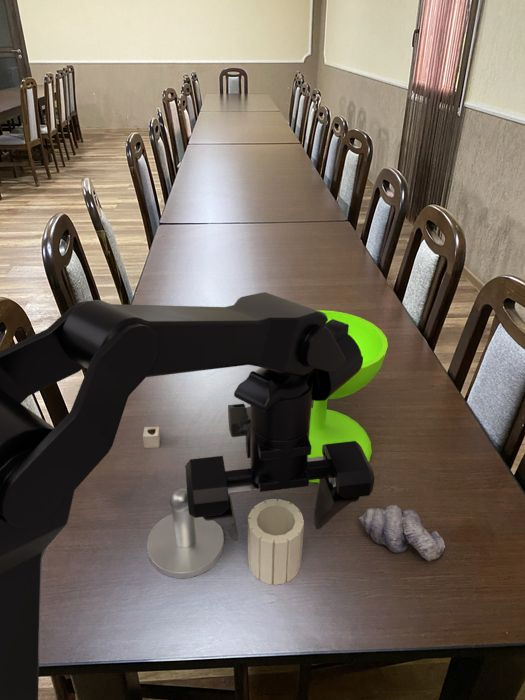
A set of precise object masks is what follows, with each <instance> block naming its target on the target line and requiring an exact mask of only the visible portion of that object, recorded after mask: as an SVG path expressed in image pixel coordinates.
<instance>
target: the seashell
mask: <svg viewBox="0 0 525 700" xmlns="http://www.w3.org/2000/svg"><path fill="white" fill-rule="evenodd" d="M359 522H360V523H361V526H362V527H363V528H364V529H365V532H366V534H368V535H370V537H371V539H372V540H373V542H375V543H376V544H377V545H384V546H386V548H387V549H388V550H389V551H390V552H392V553H394V554H399V553H403V552H405V551H407V550H408V547H409V545H411V547H413V549H415V550H416V551H417V552H418V554H420V556H421V557H422V558H423V559H424V560H426V561H427V562H432V560H436V559H438V558H440V556H441V555H442V554H444V550H445V548H446V545H445V541H444V538H443V537H442V536H441V535H439V532H438V530H434V531H432V532H431V533H430V532H429V531H428V530H427V529H426V528H425V526H424V525H423V522H422V519H421V518H420V515H419V514H418V513H417V512H416V511H415V510H413V509H405V510H402V508H400V507H399V506H398V505H397V504H390V505H387V506H385V508H379V507H376V508H374V507H373V508H372V507H371V508H367V509H366V510H365V513H363V515H361V516H360V517H359Z"/></svg>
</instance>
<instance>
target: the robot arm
mask: <svg viewBox="0 0 525 700" xmlns="http://www.w3.org/2000/svg"><path fill="white" fill-rule="evenodd" d="M317 310H318V309H314V308H311V307H309V306H305V305H302V304H299V303H297V302H295V301H291V300H288V299H287V298H283V297H280V296H278V295H274V294H271V293H268V292H267V291H266V292H258V293H254V294H253V293H252V294H249V295H244V296H240V297H239V298H237V300H236V301H235V302H234V304H232V305H228V306H203V305H202V306H199V305H157V304H151V305H150V304H121V303H120V304H118V303H109V302H106V301H105V300H101V299H93V300H85V301H84V300H83V301H79V302H76V304H74V305H73V306H71V307H69V308H68V309H67V310H66V311H65V312H64V313H62V314H61V316H59V317H58V318H57V319H56V320H55V321H53V323H51V324H50V325H49V326H48V327H47V328H46V329H44V330H42V331H39V332H37V333H36V334H33V335H31V336H29V337H26V338H24V339H23V340H20V341H18V342H17V343H14V344H12V345H10V346H8V347H5V348H4V349H1V350H0V700H39V679H40V678H39V677H40V644H41V643H40V640H41V607H42V606H41V605H42V604H41V602H42V600H41V599H42V569H43V567H42V564H43V563H42V561H43V553H44V551H45V550H46V549H47V548H48V546H50V544H51V543H52V542H53V541H55V539H56V537H57V536H58V535H59V534H60V533H61V531H63V530H64V528H66V526H67V524H68V522H69V519H70V515H71V510H72V505H73V501H74V496H75V491H76V489H78V487H79V486H80V485H81V484H82V483H83V482H84V480H85V479H87V477H88V476H89V475H90V474H91V473H92V472H93V471H94V469H95V468H96V467H97V466H98V465H99V464H100V463H101V461H103V460H104V458H105V457H106V456H107V455H108V454H109V452H110V451H111V449H112V447H113V446H114V442H115V439H116V436H117V432H118V430H119V426H120V424H121V421H122V417H123V415H124V412H125V409H126V405H127V402H128V399H129V397H130V395H131V394H133V393H134V391H135V390H136V389H137V388H138V387H139V385H141V384H142V382H143V381H144V380H145V379H146V378H151V377H152V378H153V377H160V376H161V377H162V376H168V375H178V374H184V373H185V374H186V373H192V372H200V371H211V370H217V369H227V368H235V367H242V366H252V367H253V366H254V367H258V369H257V370H252V371H250V372H249V375H248V376H247V377H246V379H244V380H243V381H242V382H240V383H239V384H238V385H237V387H236V389H235V390H234V393H233V396H234V397H235V398H236V399H237V400H240V401H242V402H244V403H234V404H228V405H227V420H228V430H229V434H230V436H231V437H232V438H237V437H245V452H246V457H247V458H246V459H250V467H249V468H242V469H233V470H226V468H225V461H224V455H216V456H208V457H199V458H190V459H188V461H187V463H186V464H185V465H184V468H185V469H184V470H185V482H186V489H187V497H188V509H189V515H191V516H193V517H194V518H199V517H203V519H204V520H206V521H211V520H213V521H215V522H216V523H217V524H219V525H220V526H221V528H222V529H224V530H225V532H226V533H227V534H228V535H229V537H230V538H231V539H232V540H233V541H234V542H238V541H239V533H238V532H239V531H238V526H237V520H236V515H235V511H234V506H233V502H232V496H231V495H239V494H247V493H255V492H260V493H263V492H273V491H281V490H290V489H297V488H305V487H310V486H309V485H310V482H309V480H315V479H319V483H318V489H317V493H316V494H317V495H316V500H315V506H314V512H313V513H314V515H313V517H314V518H313V520H314V521H313V523H314V526H315V527H314V528H315V530H316V531H319V530H321V529H322V528H323V527H325V525H326V524H327V523H328V522H329V521H331V519H332V518H334V517H335V516H336V515H337V514H338V513H340V511H342V510H343V509H345V508H346V507H347V506H349V505H350V504H351V503H356V502H358V501H359V500H360V498H362V497H369V496H370V495H371V494H372V493H373V491H374V485H375V474H374V470H373V468H372V466H371V463H370V461H369V462H368V460H367V458H366V456H365V454H364V452H363V450H362V447H361V446H360V445H359V444H358V443H357V442H356V441H350V442H341V443H332V444H324V445H322V454H323V456H321V457H313V458H308V455H311V444H310V441H309V433H310V418H311V408H312V405H313V403H312V402H314V401H322V400H323V401H325V400H326V399H327V398H328V397H330V396H331V395H332V394H333V393H334V392H335V391H337V390H338V389H339V388H340V387H341V386H343V385H344V384H345V383H346V382H347V381H348V380H350V379H351V378H352V377H353V376H354V375H355V374H357V373H358V372H359V370H360V369H361V367H362V364H363V357H362V355H361V351H360V349H359V346H358V345H357V343H356V342H355V340H354V339H353V338H352V337H351V336H350V335H349V334H348V329H349V325H348V324H346V323H343V322H340V321H337V320H334V319H332V320H330V321H329V322H327V321H328V318H327V316H326V314H325V313H322V312H320V311H317ZM326 322H327V323H326ZM85 368H86V372H85V373H84V376H83V379H82V381H81V384H80V387H79V389H78V391H77V393H76V395H75V396H76V397H75V399H74V402H73V404H72V406H71V409H70V410H69V412H68V414H66V416H64V417H63V418H62V420H61V421H59V422H58V424H57V425H55V427H54V426H53V425H51V423H49V422H48V421H46V420H45V419H43V418H41V417H40V415H37V414H36V413H35V412H34V411H32V410H30V409H29V407H28V408H27V406H25V405H23V404H22V403H23V402H24V401H25V400H26V399H27V398H28V397H30V396H31V395H34V394H35V393H38V392H40V391H42V390H44V389H46V388H48V387H51V386H53V385H54V384H57V383H59V382H61V381H62V380H65V379H67V378H69V377H71V376H73V375H75V374H77V373H79V372H80V371H82V370H83V369H85ZM327 400H328V399H327ZM245 403H246V404H248V405H250V406H246V405H245Z"/></svg>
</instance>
